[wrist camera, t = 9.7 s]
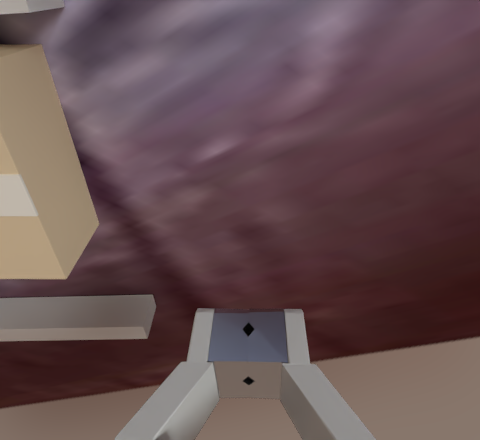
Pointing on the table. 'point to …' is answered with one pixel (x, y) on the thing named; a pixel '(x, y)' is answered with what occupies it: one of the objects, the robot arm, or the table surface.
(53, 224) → the carton
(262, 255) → the table surface
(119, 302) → the light gray u-shaped bracket
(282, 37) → the table surface
